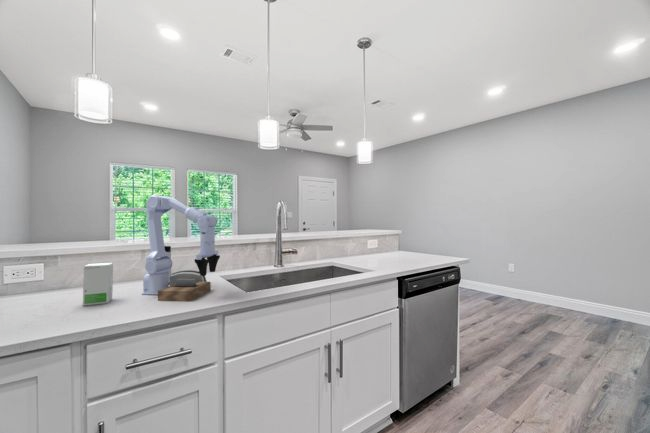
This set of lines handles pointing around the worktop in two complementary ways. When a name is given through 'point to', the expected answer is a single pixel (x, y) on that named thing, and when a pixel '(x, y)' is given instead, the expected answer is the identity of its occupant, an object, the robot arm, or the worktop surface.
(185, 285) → the grey flat-faced block
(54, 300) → the worktop surface
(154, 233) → the robot arm
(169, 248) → the travel mug
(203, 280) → the grey arched slab
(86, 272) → the skincare box
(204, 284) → the slotted tan panel
